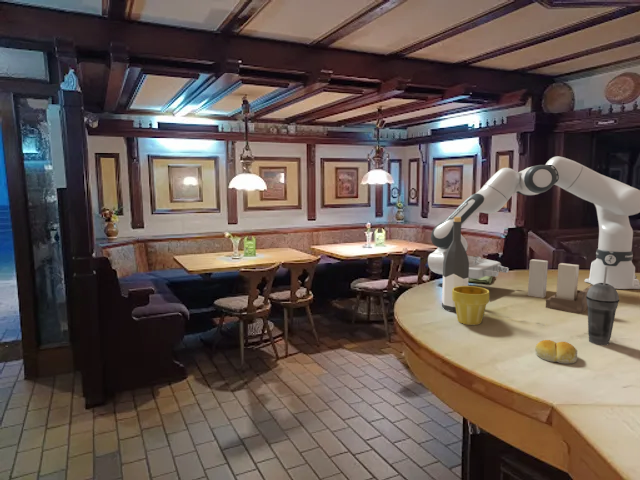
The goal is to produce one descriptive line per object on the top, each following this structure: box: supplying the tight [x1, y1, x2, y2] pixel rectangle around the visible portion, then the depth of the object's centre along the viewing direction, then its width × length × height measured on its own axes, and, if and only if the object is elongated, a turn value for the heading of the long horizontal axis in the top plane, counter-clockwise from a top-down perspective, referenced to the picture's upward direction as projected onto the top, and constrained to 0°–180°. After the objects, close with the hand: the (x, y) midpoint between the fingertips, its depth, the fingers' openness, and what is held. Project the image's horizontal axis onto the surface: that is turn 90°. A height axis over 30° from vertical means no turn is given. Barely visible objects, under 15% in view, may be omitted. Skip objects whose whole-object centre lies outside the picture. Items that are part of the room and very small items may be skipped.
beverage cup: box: [586, 267, 620, 346], centre depth 115 cm, size 7×7×20 cm
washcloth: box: [468, 276, 494, 285], centre depth 191 cm, size 13×18×3 cm
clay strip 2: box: [555, 262, 580, 301], centre depth 140 cm, size 3×5×14 cm, turn 46°
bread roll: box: [534, 339, 578, 365], centre depth 107 cm, size 8×9×4 cm
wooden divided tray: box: [545, 284, 593, 315], centre depth 145 cm, size 16×10×8 cm, turn 136°
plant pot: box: [452, 285, 490, 326], centre depth 133 cm, size 10×10×10 cm
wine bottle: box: [441, 217, 469, 312], centre depth 145 cm, size 8×8×30 cm
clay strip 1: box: [527, 258, 549, 299], centre depth 156 cm, size 3×5×14 cm, turn 46°
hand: (502, 272), depth 164 cm, fingers open, 8 cm apart
